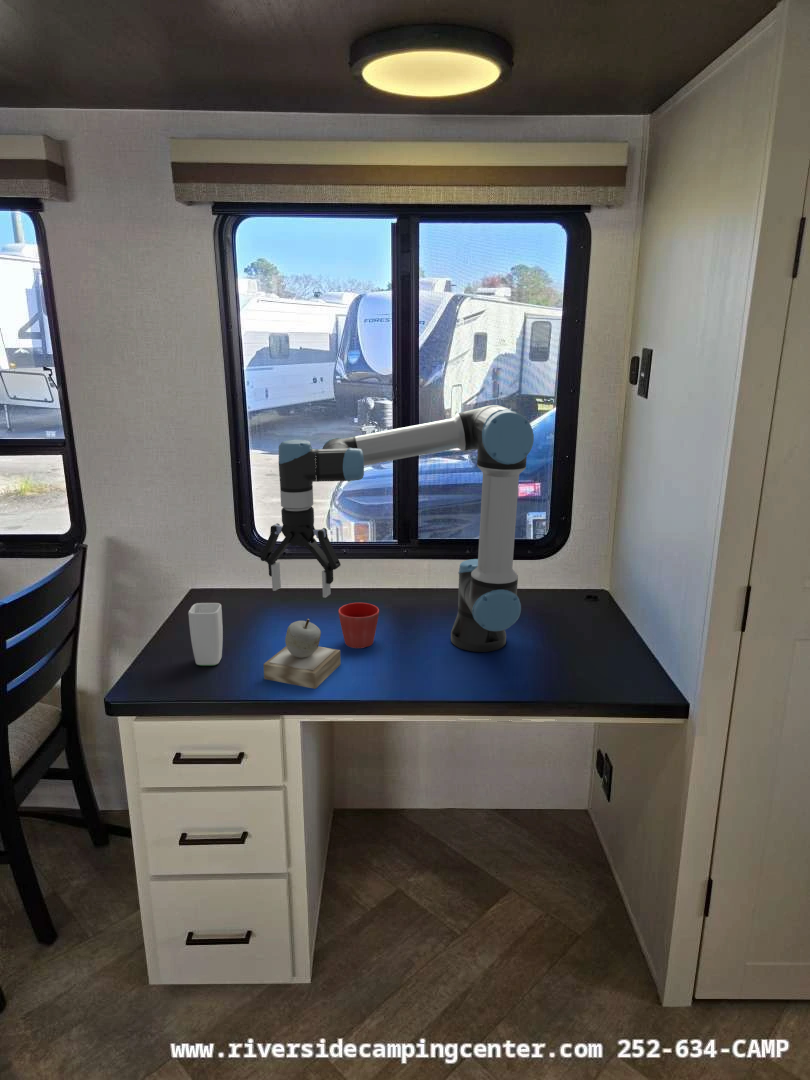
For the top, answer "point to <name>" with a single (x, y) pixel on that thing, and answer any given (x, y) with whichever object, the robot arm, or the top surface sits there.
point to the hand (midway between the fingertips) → (301, 592)
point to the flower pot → (358, 624)
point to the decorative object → (302, 638)
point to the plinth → (302, 667)
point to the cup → (206, 633)
